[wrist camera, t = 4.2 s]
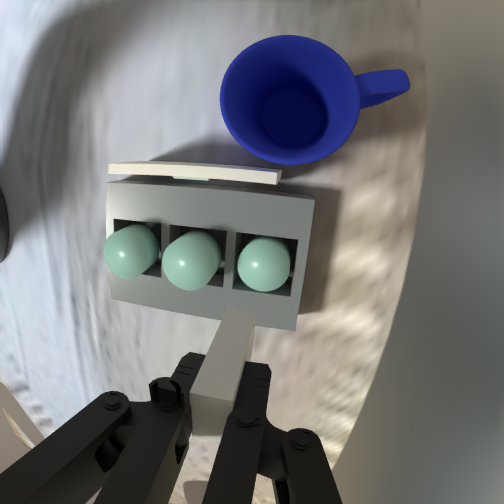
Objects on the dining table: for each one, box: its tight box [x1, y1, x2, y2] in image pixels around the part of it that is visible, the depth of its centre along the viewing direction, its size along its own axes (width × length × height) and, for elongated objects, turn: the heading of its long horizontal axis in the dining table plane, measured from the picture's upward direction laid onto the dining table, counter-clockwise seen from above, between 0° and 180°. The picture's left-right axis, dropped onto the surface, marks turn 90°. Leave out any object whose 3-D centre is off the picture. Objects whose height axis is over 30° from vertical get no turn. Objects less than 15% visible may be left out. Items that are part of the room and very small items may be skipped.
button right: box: [238, 235, 291, 292], centre depth 27 cm, size 4×4×3 cm
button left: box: [104, 224, 160, 280], centre depth 27 cm, size 4×4×3 cm
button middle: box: [162, 231, 222, 291], centre depth 26 cm, size 4×4×3 cm
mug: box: [220, 35, 410, 165], centre depth 20 cm, size 8×12×10 cm
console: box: [106, 180, 315, 331], centre depth 28 cm, size 19×12×3 cm, turn 85°
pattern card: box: [108, 161, 282, 185], centre depth 24 cm, size 13×1×7 cm, turn 85°
